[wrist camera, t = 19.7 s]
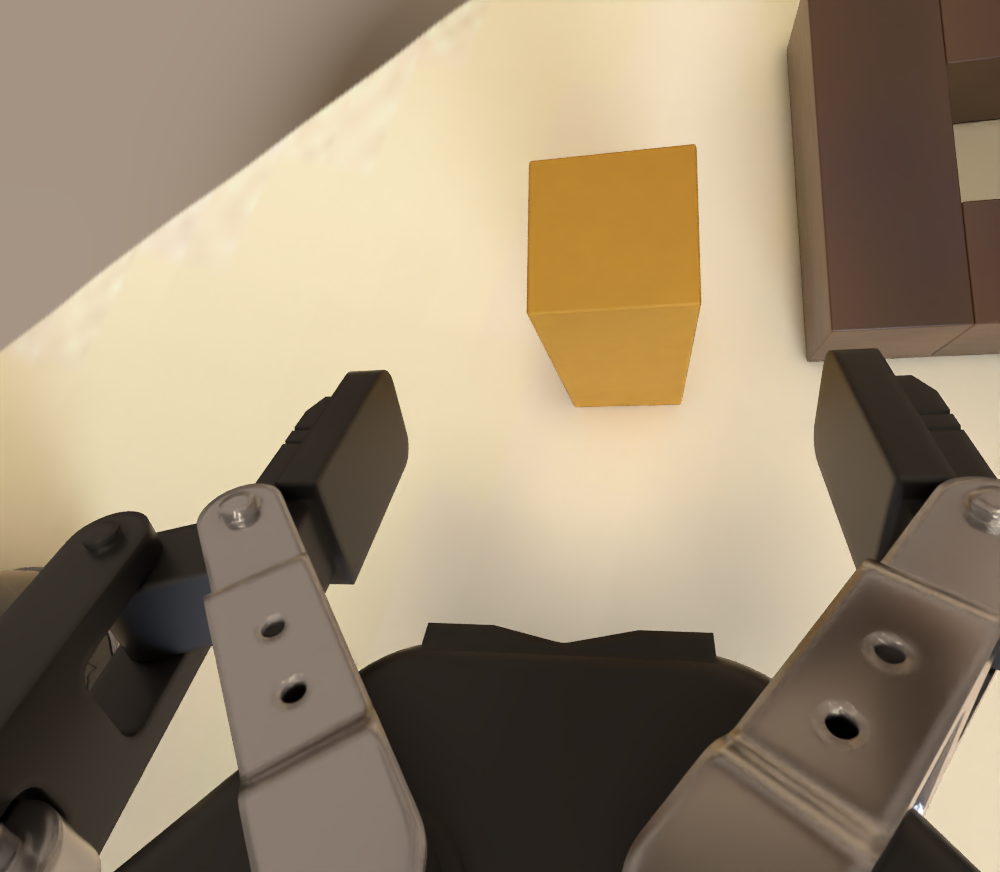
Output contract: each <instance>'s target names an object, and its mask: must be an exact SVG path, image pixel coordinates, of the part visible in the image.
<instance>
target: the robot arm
mask: <svg viewBox="0 0 1000 872" xmlns="http://www.w3.org/2000/svg"><path fill="white" fill-rule="evenodd" d="M285 442H286V444H283V445H282V446H281V448H280V449H279V451H278V452H277V453H276V455H275V456H274V458H273V459H272V460H271V462H270V463H269V465H268V466H267V468H266V469H265V470H264V472H263V473H262V475H261V476H260V478H259V479H258V480H257V482H256V483H255V484H249V485H244V486H240V487H237V488H234V489H232V490H230V491H227V492H225V493H223V494H222V495H220V496H218V497H217V498H215V499H214V500H213V501H211V502H210V503H209V504H208V505H207V506H206V507H205V508H204V509H203V511H202V512H201V514H200V515H199V518H198V521H197V523H196V524H192V525H188V526H183V527H179V528H175V529H170V530H166V531H162V532H157V533H156V532H155V530H154V528H153V527H152V525H151V523H150V522H149V520H148V518H147V517H146V516H145V515H144V514H142V513H139V512H134V511H127V512H119V513H115V514H111V515H108V516H105V517H103V518H100V519H98V520H96V521H94V522H92V523H90V524H88V525H87V526H85V527H83V528H82V529H80V530H79V531H78V532H76V533H75V534H74V535H73V536H72V537H71V538H70V539H69V540H68V541H67V542H66V543H65V544H64V545H63V546H62V548H61V549H60V550H59V551H58V552H57V553H56V554H55V556H54V557H53V558H52V559H51V560H50V561H49V562H48V564H47V565H46V566H45V567H30V568H20V569H15V570H7V571H0V872H101V862H100V858H99V855H100V853H101V851H102V849H103V847H104V845H105V843H106V841H107V840H108V838H109V836H110V834H111V832H112V830H113V828H114V826H115V825H116V823H117V821H118V819H119V817H120V815H121V813H122V811H123V810H124V808H125V806H126V804H127V802H128V800H129V798H130V797H131V795H132V793H133V791H134V789H135V787H136V785H137V783H138V782H139V780H140V778H141V776H142V774H143V772H144V770H145V768H146V767H147V765H148V763H149V761H150V759H151V757H152V755H153V754H154V752H155V750H156V748H157V746H158V744H159V742H160V740H161V739H162V737H163V735H164V733H165V731H166V729H167V727H168V725H169V724H170V722H171V720H172V718H173V716H174V714H175V712H176V711H177V709H178V707H179V705H180V703H181V701H182V699H183V697H184V696H185V694H186V692H187V690H188V688H189V686H190V684H191V682H192V681H193V679H194V677H195V675H196V673H197V671H198V669H199V667H200V666H201V664H202V662H203V660H204V658H205V656H206V654H207V653H208V651H209V649H210V647H211V646H213V649H214V654H215V658H216V663H217V668H218V673H219V678H220V682H221V687H222V692H223V697H224V702H225V706H226V711H227V716H228V721H229V726H230V730H231V735H232V740H233V745H234V749H235V754H236V759H237V764H238V770H237V771H236V772H235V773H233V774H232V775H231V776H230V777H228V778H227V779H226V780H225V781H224V782H222V783H221V784H220V785H219V786H218V787H216V788H215V789H214V790H213V791H211V792H210V793H209V794H208V795H207V796H205V797H204V798H203V799H202V800H200V801H199V802H198V803H197V804H196V805H194V806H193V807H192V808H191V809H190V810H188V811H187V812H186V813H185V814H183V815H182V816H181V817H180V818H179V819H177V820H176V821H175V822H174V823H172V824H171V825H170V826H169V827H168V828H166V829H165V830H164V831H163V832H162V833H160V834H159V835H158V836H157V837H155V838H154V839H153V840H152V841H151V842H149V843H148V844H147V845H146V846H144V847H143V848H142V849H141V850H140V851H138V852H137V853H136V854H135V855H133V856H132V857H131V858H130V859H129V860H127V861H126V862H125V863H124V864H123V865H121V866H120V867H119V868H118V869H116V870H115V871H114V872H981V871H979V870H978V869H977V868H976V867H975V866H974V865H973V864H972V863H971V862H970V861H969V860H968V859H967V858H966V857H965V856H964V855H963V854H962V853H961V852H960V851H959V850H957V849H956V848H955V847H954V846H953V845H952V844H951V843H950V842H949V841H948V840H947V839H946V838H945V837H944V836H943V835H942V834H941V833H940V832H939V831H938V830H937V829H936V828H934V827H933V826H932V825H931V824H930V823H929V822H928V821H927V820H926V819H925V818H924V815H925V813H926V811H927V809H928V806H929V804H930V802H931V800H932V798H933V796H934V794H935V792H936V790H937V788H938V786H939V784H940V781H941V779H942V777H943V775H944V773H945V771H946V769H947V767H948V765H949V763H950V761H951V759H952V757H953V755H954V753H955V751H956V749H957V747H958V745H959V744H960V742H961V740H962V738H963V736H964V734H965V732H966V730H967V728H968V726H969V724H970V722H971V720H972V718H973V717H974V715H975V713H976V711H977V709H978V707H979V705H980V703H981V701H982V699H983V697H984V695H985V693H986V691H987V690H988V688H989V686H990V684H991V682H992V680H993V678H994V676H995V674H996V672H997V670H1000V479H997V478H996V476H995V475H994V473H993V472H992V470H991V469H990V468H989V466H988V465H987V463H986V462H985V460H984V459H983V457H982V456H981V454H980V453H979V452H978V450H977V449H976V447H975V446H974V444H973V443H972V441H971V440H970V438H969V437H968V436H967V434H966V433H965V431H964V430H961V425H960V424H959V422H958V421H957V420H956V418H955V417H954V415H953V414H950V409H949V408H948V406H947V405H946V404H945V402H944V401H943V399H942V398H941V396H940V395H939V393H938V392H937V391H936V390H934V389H933V388H931V387H930V386H928V385H926V384H925V383H923V382H922V381H920V380H919V379H917V378H915V377H914V376H912V375H906V376H895V375H894V373H893V372H892V370H891V368H890V367H889V365H888V363H887V362H886V360H885V359H884V357H883V355H882V354H881V352H880V351H879V349H877V348H866V349H845V350H829V351H828V352H827V354H826V356H825V360H824V365H823V371H822V378H821V385H820V391H819V398H818V405H817V412H816V418H815V425H814V447H815V454H816V459H817V462H818V465H819V467H820V470H821V473H822V476H823V478H824V481H825V484H826V487H827V489H828V492H829V495H830V498H831V501H832V503H833V506H834V509H835V512H836V514H837V517H838V520H839V523H840V525H841V528H842V531H843V534H844V537H845V539H846V542H847V545H848V548H849V550H850V553H851V556H852V559H853V561H854V564H855V567H856V571H855V573H854V574H853V575H852V576H851V578H850V579H849V580H848V582H847V583H846V584H845V585H844V587H843V588H842V589H841V591H840V592H839V593H838V595H837V596H836V597H835V598H834V600H833V601H832V602H831V604H830V605H829V606H828V607H827V609H826V610H825V611H824V613H823V614H822V615H821V617H820V618H819V619H818V620H817V622H816V623H815V624H814V626H813V627H812V628H811V630H810V631H809V632H808V633H807V635H806V636H805V637H804V639H803V640H802V641H801V642H800V644H799V645H798V646H797V648H796V649H795V650H794V652H793V653H792V654H791V655H790V657H789V658H788V659H787V661H786V662H785V663H784V664H783V666H782V667H781V668H780V670H779V671H778V672H777V674H776V675H775V676H774V677H773V679H771V678H769V677H767V676H766V675H764V674H762V673H760V672H758V671H756V670H754V669H752V668H750V667H748V666H745V665H742V664H740V663H737V662H734V661H732V660H729V659H725V658H721V657H718V656H716V653H715V644H714V636H713V633H700V632H672V631H644V630H637V631H632V632H626V633H620V634H615V635H609V636H604V637H598V638H592V639H587V640H581V641H575V642H569V643H560V642H555V641H551V640H547V639H543V638H540V637H536V636H532V635H529V634H525V633H521V632H517V631H514V630H510V629H506V628H502V627H499V626H495V625H475V624H446V623H428V626H427V629H426V632H425V636H424V639H423V642H422V645H418V646H413V647H410V648H406V649H403V650H400V651H397V652H395V653H392V654H390V655H387V656H385V657H383V658H381V659H379V660H377V661H375V662H373V663H371V664H369V665H368V666H366V667H365V668H363V669H362V670H360V671H359V672H358V670H357V667H356V665H355V663H354V660H353V658H352V656H351V653H350V651H349V649H348V646H347V644H346V642H345V639H344V637H343V635H342V633H341V630H340V628H339V626H338V623H337V621H336V619H335V616H334V614H333V612H332V609H331V607H330V605H329V602H328V600H327V598H326V595H325V593H326V591H327V588H328V586H329V584H354V583H355V581H356V579H357V577H358V574H359V572H360V570H361V567H362V565H363V563H364V560H365V558H366V556H367V554H368V551H369V549H370V547H371V544H372V542H373V540H374V537H375V535H376V533H377V531H378V528H379V526H380V524H381V521H382V519H383V517H384V515H385V512H386V510H387V508H388V505H389V503H390V501H391V498H392V496H393V494H394V492H395V489H396V487H397V485H398V482H399V480H400V478H401V475H402V473H403V471H404V469H405V466H406V463H407V459H408V437H407V432H406V428H405V425H404V421H403V417H402V413H401V410H400V406H399V402H398V398H397V395H396V391H395V387H394V383H393V380H392V377H391V375H390V374H389V372H388V371H386V370H374V371H352V372H348V373H347V374H346V376H345V377H344V379H343V380H342V382H341V383H340V385H339V386H338V388H337V389H336V391H335V392H334V394H333V395H332V397H325V398H323V399H322V400H321V401H319V402H318V403H317V404H315V405H314V406H313V407H311V408H310V409H309V410H307V411H306V412H305V413H304V415H303V416H302V418H301V419H300V421H299V422H298V423H297V425H296V426H295V431H292V432H291V433H290V435H289V436H288V438H287V439H286V441H285Z"/></svg>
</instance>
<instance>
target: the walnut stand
mask: <svg viewBox="0 0 1000 872" xmlns="http://www.w3.org/2000/svg"><path fill="white" fill-rule="evenodd" d="M787 57H788V72H789V88H790V103H791V119H792V134H793V149H794V165H795V180H796V196H797V211H798V227H799V242H800V257H801V273H802V288H803V304H804V319H805V334H806V350H807V361H809V362H811V361H824V360H825V356H826V354H827V352H828V351H829V350H845V349H866V348H877V349H879V351H880V352H881V354H882V355H883V357H884V358H903V357H926V356H948V355H971V354H995V353H1000V199H992V200H980V201H969V202H963V203H961V197H960V187H959V178H958V169H957V160H956V151H955V142H954V132H953V123H961V122H970V121H980V120H989V119H998V118H1000V0H800V4H799V7H798V11H797V15H796V18H795V22H794V26H793V29H792V33H791V37H790V40H789V44H788V48H787Z"/></svg>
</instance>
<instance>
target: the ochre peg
mask: <svg viewBox="0 0 1000 872" xmlns="http://www.w3.org/2000/svg"><path fill="white" fill-rule="evenodd" d="M700 306H701V281H700V249H699V216H698V184H697V151H696V146H695V145H694V144H691V145H681V146H672V147H662V148H653V149H643V150H634V151H624V152H615V153H605V154H596V155H586V156H577V157H567V158H558V159H548V160H539V161H531V162H530V164H529V198H528V265H527V314H528V316H529V318H530V320H531V322H532V324H533V326H534V328H535V330H536V332H537V334H538V336H539V338H540V340H541V342H542V344H543V345H544V347H545V349H546V351H547V353H548V355H549V357H550V359H551V361H552V363H553V365H554V367H555V369H556V371H557V373H558V375H559V377H560V379H561V380H562V382H563V384H564V386H565V388H566V390H567V392H568V394H569V396H570V398H571V400H572V402H573V404H574V406H575V407H591V406H630V405H670V404H681V401H682V396H683V391H684V386H685V381H686V376H687V371H688V366H689V361H690V356H691V351H692V346H693V341H694V336H695V331H696V326H697V321H698V316H699V311H700Z"/></svg>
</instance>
